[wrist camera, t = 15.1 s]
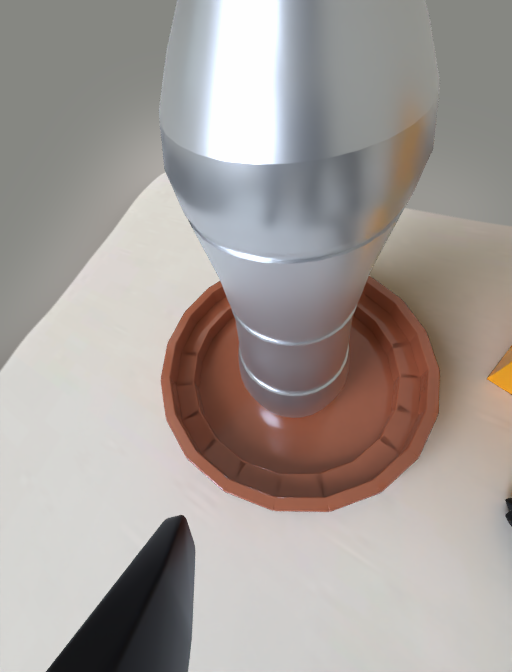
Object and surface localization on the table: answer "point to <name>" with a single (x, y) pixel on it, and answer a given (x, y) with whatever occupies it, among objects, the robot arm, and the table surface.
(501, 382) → the orange juice
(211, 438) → the bowl
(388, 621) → the table surface
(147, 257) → the table surface
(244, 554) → the table surface
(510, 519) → the electric trimmer
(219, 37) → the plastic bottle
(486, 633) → the table surface
